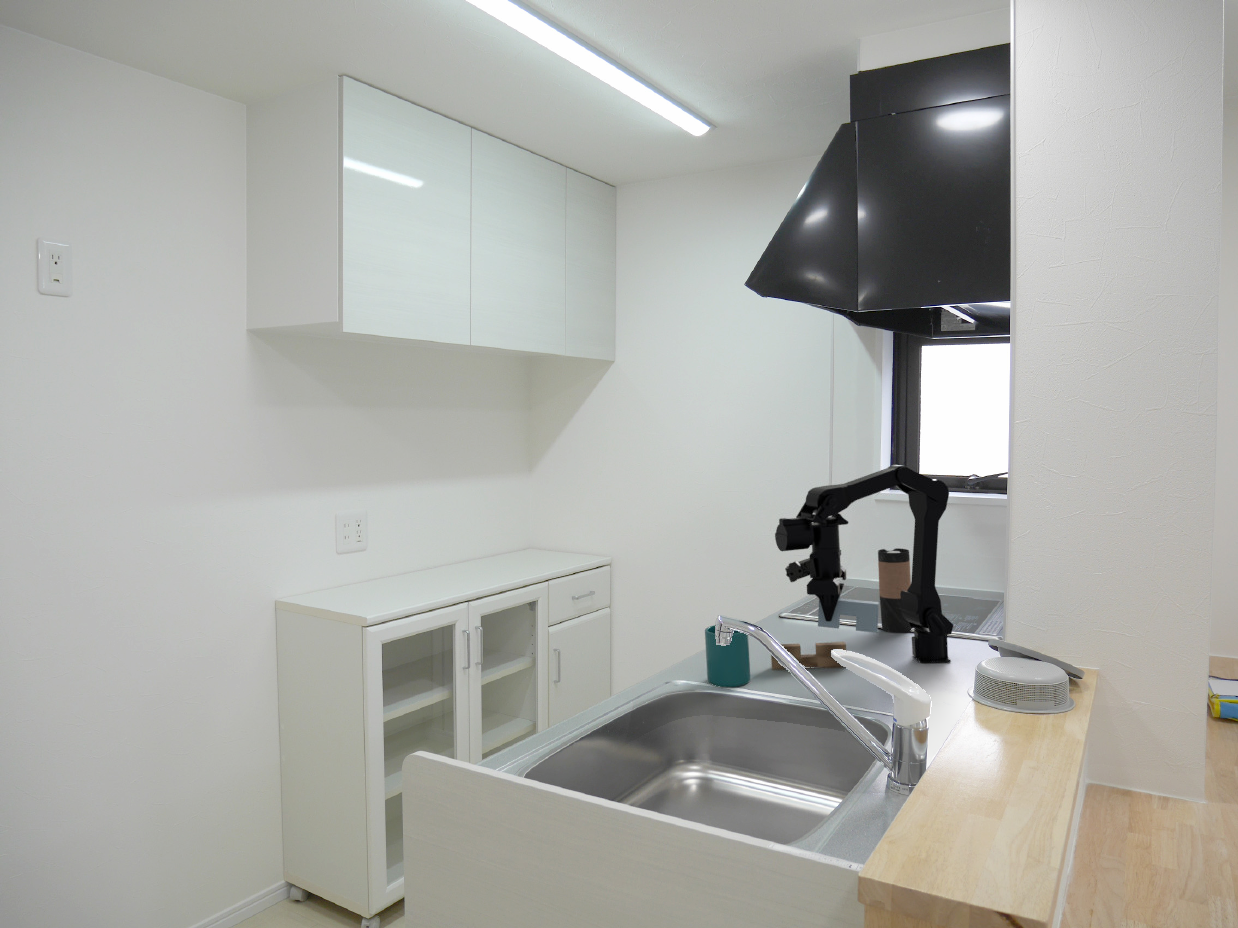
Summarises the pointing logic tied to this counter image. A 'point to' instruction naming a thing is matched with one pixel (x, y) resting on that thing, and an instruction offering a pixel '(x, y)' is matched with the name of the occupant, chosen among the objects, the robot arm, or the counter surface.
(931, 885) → the counter surface
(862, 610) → the slate block
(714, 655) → the cup
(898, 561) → the travel mug
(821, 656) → the walnut board
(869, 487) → the robot arm
